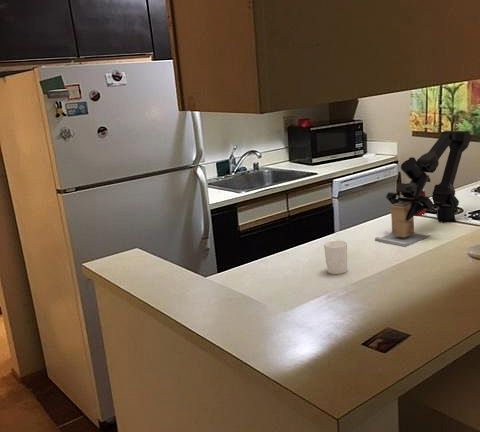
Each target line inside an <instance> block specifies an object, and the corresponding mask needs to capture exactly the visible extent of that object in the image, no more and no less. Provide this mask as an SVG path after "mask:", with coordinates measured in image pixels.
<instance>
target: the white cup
mask: <svg viewBox="0 0 480 432" xmlns="http://www.w3.org/2000/svg"><path fill="white" fill-rule="evenodd" d="M323 250H324V257H325V264H326V268H327V269H326V270H327V273H329V274H331V275H342V274H345V273H346V272H348V243H347V241H345V240H342V239H341V240H339V239H333V240H328V241H326V242H324V243H323Z"/></svg>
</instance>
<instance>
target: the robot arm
mask: <svg viewBox="0 0 480 432" xmlns="http://www.w3.org/2000/svg"><path fill="white" fill-rule="evenodd" d="M471 140H472V135H471V133H470V132H469V131H468V130H444V131H442V132H441V133H440V136H439V138H438V139H437V140H436V142H435V143H434V144H433V145H432V147H431V148H430V150H429V151H427V152H426V153H424V154H422V155H421V156H420V157H419V158H417V160H416V158H415V157H413V156H412V157H409V158H408V159H406V160H405V161H403V162H402V163H401V165H400V169H401V171H402V172H403V173H404V174H405V175H406V178H408V179H409V180H410V181H409V183H408V182H406V183H403V182H402V183H401V182H398V183H397V186H396V189H395V191H396V192H393V191H392V192H391V191H390V192H387V194H386V196H385V198H386V199H387V201H388V202H390V204H391V205H393V204H395V203H398V202H401V201H403V202H411V208H410V210H409V212H408V215H407V217H406V220H407V221H408V220H409V219H411V218H412V217H413V216H414V217H416V216H415V215H416V214H417V213H419V212H421V211H422V210H423V211H424V208H425V209H426V210H430V211H432V209H433V208H434V207H437V209H436V220H438V222H439V223H451V222H457V219H456V209H455V208H458V207H459V203H460V200H459V199H458V198H457V196H456V189H455V187H454V183H455V180H456V176H457V173H458V169H459V165H460V161H461V159H462V156H463V152H464V151H465V150H466V149H468V148H469V145H470V142H471ZM448 148H449V153H448V155H447V159H446V163H445V167H444V170H443V174H442V178H441V181H440V182H439V183H438V184H435V185H434V187H433V191H432V193H431V194H432V195H431V199H432V200H431V199H430V198H429V196H426V195H425V196H420V194H423V193H424V191H423V189H425V186H426V184H427V183H431V178H430V175H429V174H428V173H431V174H433V173H435V171H436V170H437V169H438V166H439V165H440V163H439V160H440V158H441V156H443V154H444V153H445V151H446V150H447V149H448ZM397 192H399V193H400V194H399V193H397ZM401 195H402V196H401Z"/></svg>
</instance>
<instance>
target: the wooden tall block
mask: <svg viewBox="0 0 480 432" xmlns="http://www.w3.org/2000/svg"><path fill="white" fill-rule="evenodd" d="M410 208H411V202H403V201H401V202H398V203H395V204H391V205H390V216H391V233H392V235H393V236H399V237H407V236H409V235H411V234H414V233H415V221H414V219H415V218H414V217H415V216H413V217H412V218H411V219H409V220H408V221H407V220H406V217H407V215H408V212H409V210H410Z"/></svg>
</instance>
